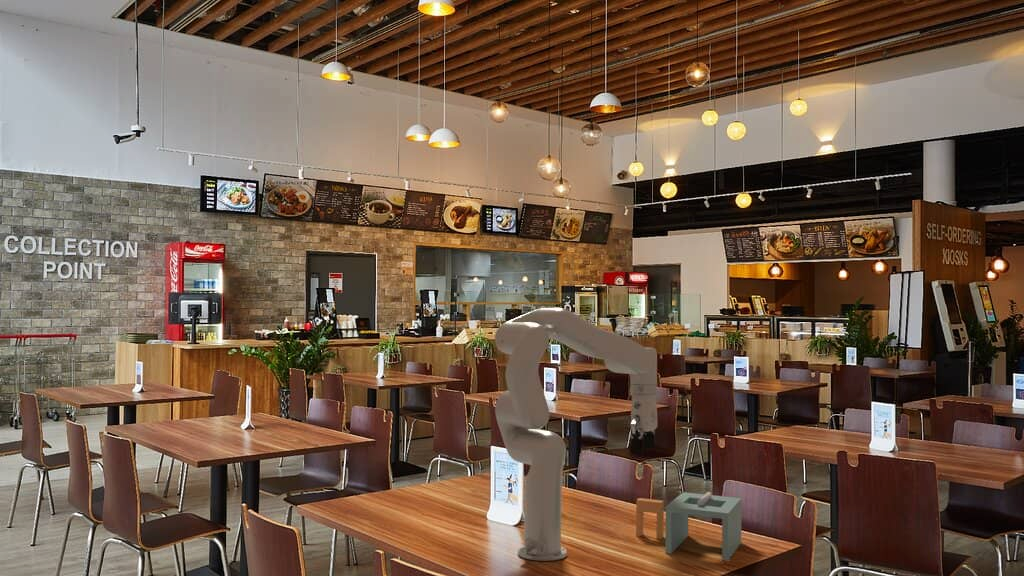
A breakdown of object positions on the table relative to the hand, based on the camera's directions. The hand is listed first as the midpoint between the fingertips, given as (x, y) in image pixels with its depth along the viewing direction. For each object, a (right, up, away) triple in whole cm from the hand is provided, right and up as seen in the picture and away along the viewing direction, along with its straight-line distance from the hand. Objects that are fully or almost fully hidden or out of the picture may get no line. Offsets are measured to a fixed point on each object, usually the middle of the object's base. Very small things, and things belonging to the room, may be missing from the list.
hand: (643, 450), depth 228 cm
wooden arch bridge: (+1, -23, -4) cm, 24 cm away
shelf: (+14, -23, -15) cm, 31 cm away
